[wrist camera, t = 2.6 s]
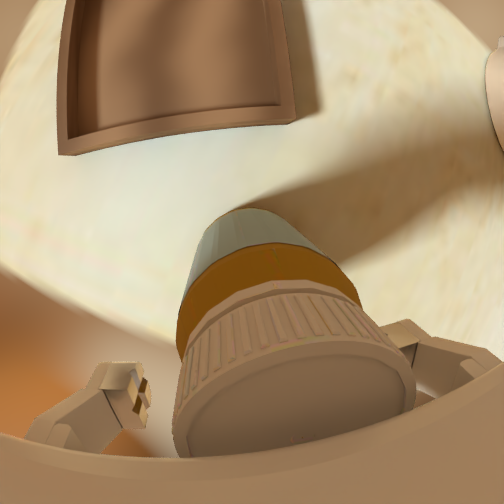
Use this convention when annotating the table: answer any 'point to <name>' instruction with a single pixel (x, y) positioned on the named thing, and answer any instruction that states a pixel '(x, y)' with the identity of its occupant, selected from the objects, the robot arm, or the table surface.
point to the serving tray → (169, 70)
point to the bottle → (276, 345)
